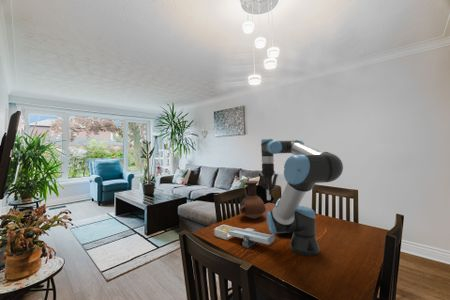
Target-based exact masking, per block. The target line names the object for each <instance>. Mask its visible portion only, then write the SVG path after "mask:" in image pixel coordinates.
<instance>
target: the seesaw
mask: <svg viewBox="0 0 450 300" xmlns="http://www.w3.org/2000/svg"><path fill="white" fill-rule="evenodd" d="M234 228H235V230H234V231H228V232H229V235H231V236H233V237H237V238H241V239H244V236H248V237H249V240H252V241H256V242H257V243H261V244H264V245H270V244H272V243H273V242H274V241H275V239H276V238H275V236H276V235H275V233H271V234H268V233H263V232H259V231H256V230H255V229H254V228H249V227H247V228H239V227H234ZM255 231H256V232H255Z"/></svg>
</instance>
